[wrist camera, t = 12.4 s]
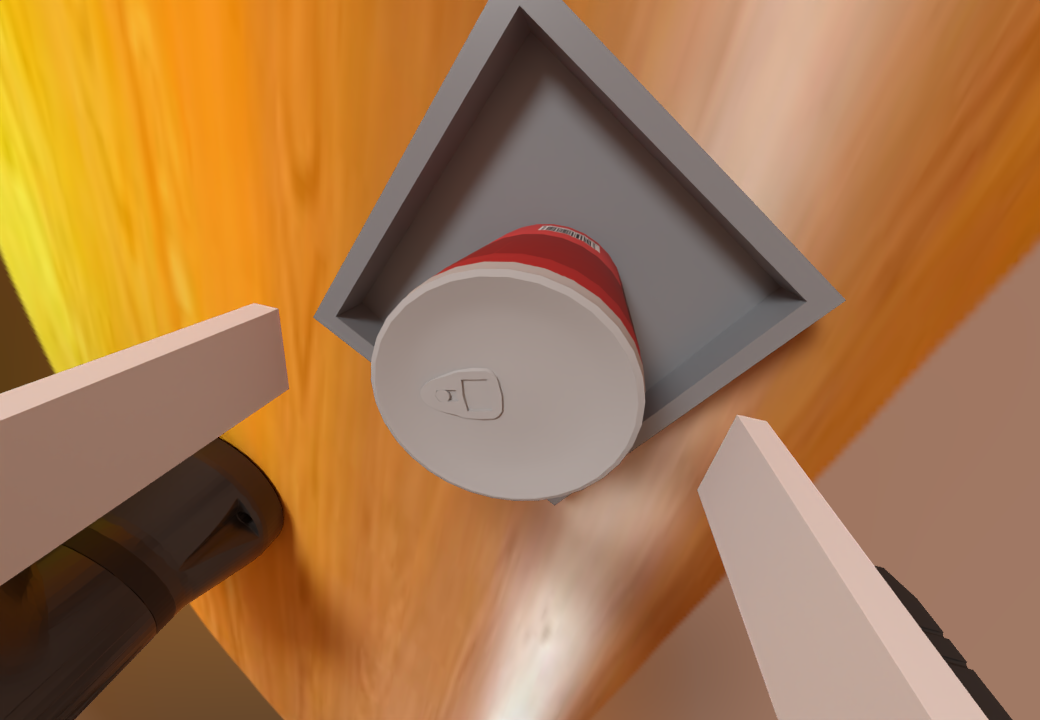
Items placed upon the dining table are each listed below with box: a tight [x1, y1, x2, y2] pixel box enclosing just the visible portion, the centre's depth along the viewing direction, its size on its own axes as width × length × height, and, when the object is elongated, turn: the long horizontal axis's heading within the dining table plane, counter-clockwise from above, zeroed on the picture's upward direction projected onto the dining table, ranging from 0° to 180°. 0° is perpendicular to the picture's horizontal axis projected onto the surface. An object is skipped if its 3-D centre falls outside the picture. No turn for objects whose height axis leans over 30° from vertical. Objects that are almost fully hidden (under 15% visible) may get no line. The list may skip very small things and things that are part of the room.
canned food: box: [371, 224, 645, 501], centre depth 15 cm, size 8×8×11 cm
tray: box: [314, 0, 846, 505], centre depth 19 cm, size 18×18×4 cm
